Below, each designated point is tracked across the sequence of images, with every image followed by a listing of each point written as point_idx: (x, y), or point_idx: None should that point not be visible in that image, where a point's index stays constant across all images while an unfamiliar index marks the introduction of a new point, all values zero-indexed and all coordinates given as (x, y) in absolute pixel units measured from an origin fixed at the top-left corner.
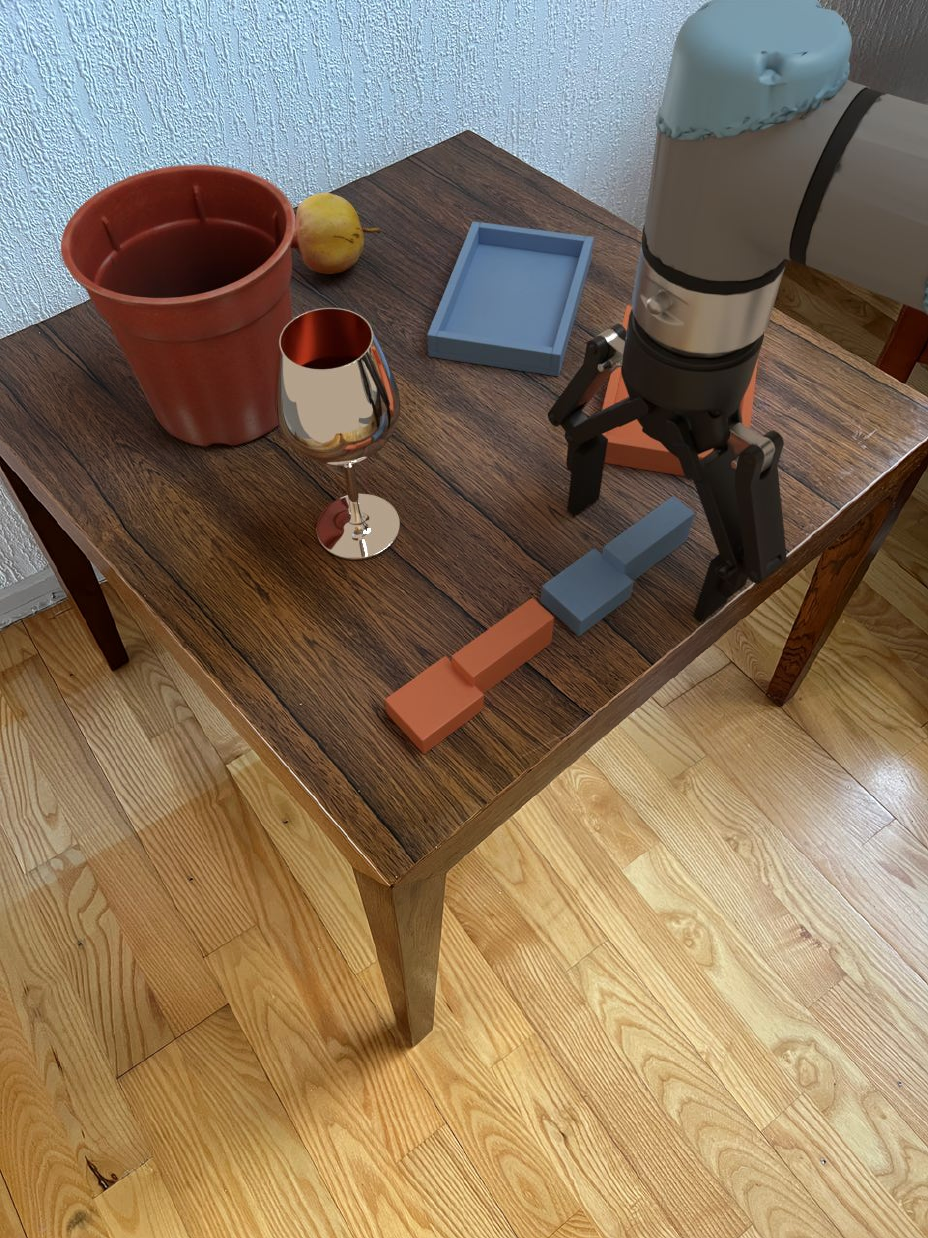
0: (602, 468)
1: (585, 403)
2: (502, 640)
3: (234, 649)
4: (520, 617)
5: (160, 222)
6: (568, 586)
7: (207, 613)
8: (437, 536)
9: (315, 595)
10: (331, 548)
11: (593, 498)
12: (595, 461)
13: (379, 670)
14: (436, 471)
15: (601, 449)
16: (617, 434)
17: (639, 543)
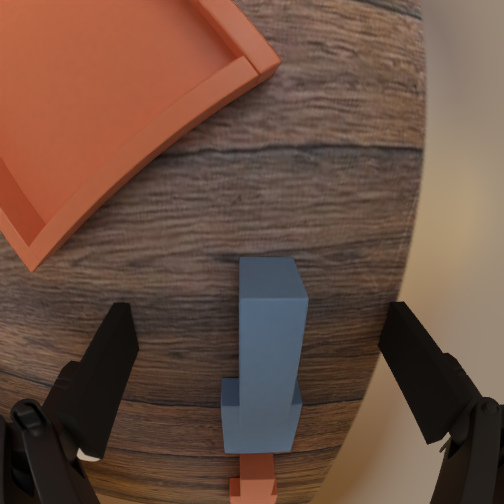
0: (103, 357)
1: (10, 468)
2: (258, 496)
3: (138, 497)
4: (250, 488)
5: None
6: (246, 443)
7: (108, 490)
8: None
9: (119, 476)
10: (84, 459)
11: (127, 322)
12: (99, 402)
13: (199, 488)
14: (23, 377)
15: (87, 413)
16: (34, 185)
17: (276, 400)
